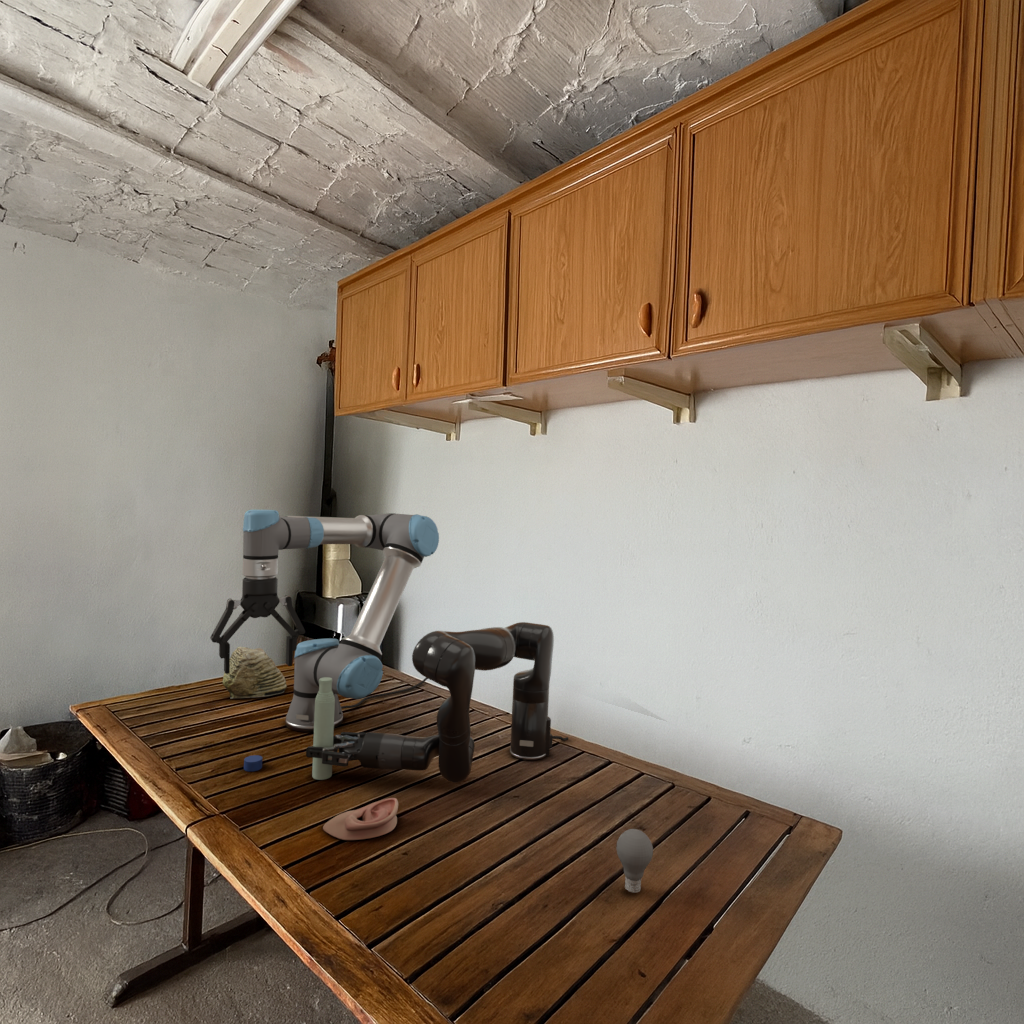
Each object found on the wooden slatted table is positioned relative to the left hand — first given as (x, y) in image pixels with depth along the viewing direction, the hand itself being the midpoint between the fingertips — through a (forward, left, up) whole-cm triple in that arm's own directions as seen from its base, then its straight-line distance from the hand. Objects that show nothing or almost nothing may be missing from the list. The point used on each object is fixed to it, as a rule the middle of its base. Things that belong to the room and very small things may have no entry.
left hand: (258, 668), depth 146 cm
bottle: (-8, +15, -23) cm, 28 cm away
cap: (+1, 0, -21) cm, 21 cm away
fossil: (-27, -49, -23) cm, 60 cm away
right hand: (-7, +13, -16) cm, 22 cm away
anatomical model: (0, +39, -23) cm, 45 cm away
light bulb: (-18, +88, -23) cm, 93 cm away
